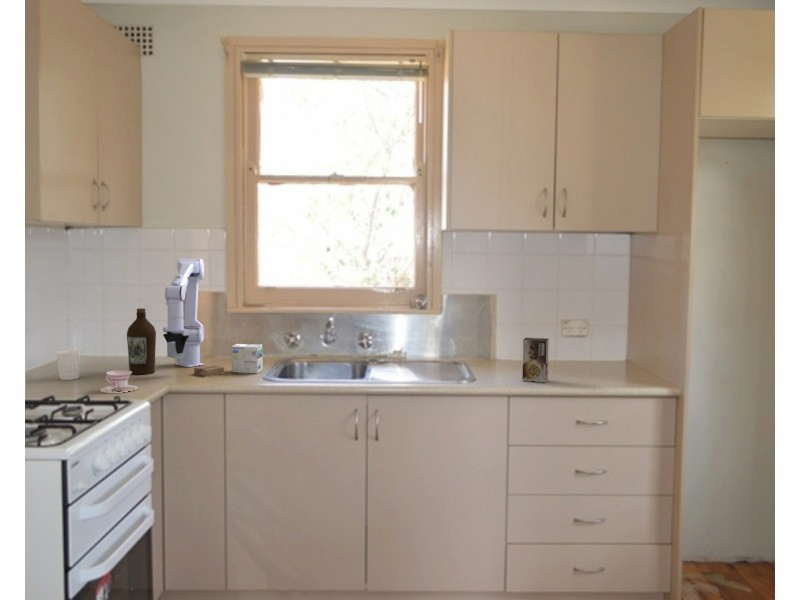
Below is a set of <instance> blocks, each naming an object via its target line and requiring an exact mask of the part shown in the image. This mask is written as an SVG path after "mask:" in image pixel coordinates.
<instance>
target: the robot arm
mask: <svg viewBox="0 0 800 600" xmlns="http://www.w3.org/2000/svg"><path fill="white" fill-rule="evenodd" d="M176 269H177V272H178V274H176V275H175V276H174V277H173V278H172V280H171V283H170V285H168V286H166V287H165V290H164V298H165V304H166V306H167V326H163V327H162V331H163V337H164V339H165V341H166V343H167V342H175V344H176V351H177V354H179V353H183V349H184V357H178V358H176V363H175V365H176V366H181V367H186V368H191V367H192V368H194V367H200V366H205V363H202V362H201V352H200V351H201V344H202V343H203V342H204V339H205V331H204V325H203V324H202V322H200V321H199V320H198V304H199V285H200V281H202V280H203V279H204V277H205V262H204V259H203V258H182V257H180V258H178V260H177V263H176ZM184 301H185V313H184ZM184 314H185V315H184ZM199 365H200V366H199Z"/></svg>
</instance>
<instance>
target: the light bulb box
mask: <svg viewBox="0 0 800 600" xmlns="http://www.w3.org/2000/svg"><path fill="white" fill-rule="evenodd" d="M262 371H263V344H259V343H258V344H254V343H253V344H250V343H244V344H243V343H236V344H234V345H232V346H231V373H232V372H239V373H238V374H259V373H261V372H262Z"/></svg>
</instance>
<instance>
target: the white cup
mask: <svg viewBox="0 0 800 600" xmlns="http://www.w3.org/2000/svg"><path fill="white" fill-rule="evenodd" d="M56 355H57V356H56V359H57V370H58V376H59V377H58V378H59V380H61V381H69V380H70V381H72V380H77V379H79V378H80V370H81V350H78V349H71V350H70V349H69V350H67V349H66V350H60V351H59V350H58V351H57V352H56Z"/></svg>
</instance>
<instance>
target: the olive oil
mask: <svg viewBox="0 0 800 600" xmlns="http://www.w3.org/2000/svg"><path fill="white" fill-rule="evenodd" d="M146 313H147V312H146V308H143V307H141V308H140V307H139V308H137V309H136V318H135V320H134V321H133V322H132V323H131V324H130V325H129V326H128V328H127V332H126V343H127V354H128V357H127V358H128V371H131V372H132V373H131V375H136V376H137V375H138V376H140V375H150V374H151V375H152V374H153V373H155V372H156V347H157V346H156V341H157V340H156V339H157V331H156V329H155V326H154V325H153V324H152V323H151V322H150V321H149V320H148V319H147V318H146V317H147V314H146Z"/></svg>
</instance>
